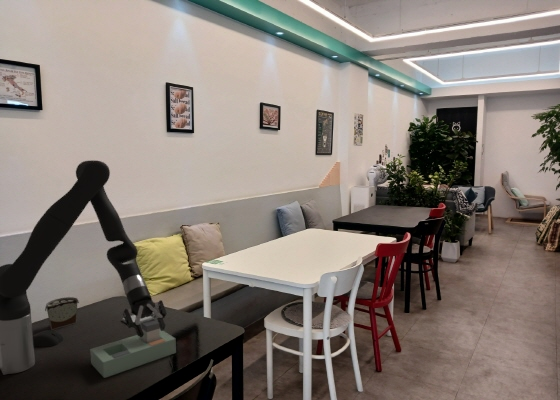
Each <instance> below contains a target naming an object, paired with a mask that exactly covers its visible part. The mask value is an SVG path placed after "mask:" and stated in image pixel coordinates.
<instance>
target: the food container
mask: <svg viewBox="0 0 560 400" xmlns="http://www.w3.org/2000/svg"><path fill="white" fill-rule="evenodd" d="M78 304H80V301H79V299H78V298H77V297H73V296H72V297H70V296H68V297H60V298H55V299H53V300H50V301H48V302H47V303H46V305H45V308H44V311H45V312H47V316H48V322H49V326H50V330H52V331H54V330H57V329H59V328H64V327H68V326H71V325H75V324H77V321H78V320H77V319H78Z"/></svg>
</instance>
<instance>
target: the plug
mask: <svg viewBox="0 0 560 400" xmlns="http://www.w3.org/2000/svg"><path fill="white" fill-rule="evenodd" d="M140 325H141V328H142V331H143V333H144V335H143V337H142V341H143V342H145V343H146V344H148V343H150V342H154V341H157V340H160V330H159V328H160V327H159V322H158V321H157V320H156V319H152V320H149V321H145V322H142V323H140Z"/></svg>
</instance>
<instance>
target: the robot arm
mask: <svg viewBox="0 0 560 400" xmlns="http://www.w3.org/2000/svg"><path fill="white" fill-rule="evenodd" d="M110 170H111V169H110V168H109V165H107V164H106V162H104V161H102V160H101V161H100V160H95V159H94V160H91V159H90V160H84V161H81V162H80V163H79V164H78V165H77V167H76V170H75V176H76V178H77V180H76V181H75V183H74V184H73V186H72V187H71V188H70V189H69V190H68V191H67V192H66V193H65V194H64V195H63V196H61V197H60V198H59V199H57V201H55V202H54V203H53V204H52V205H50V206H49V207H48V209H46V211H45V212H44V213H43V215H42V216H41V217H40V219H39V220H38V221H37V222H36V224H35V225H34V228H33V229H32V231H31V234H30V235H29V237H28V240H27V243H26V244H25V245H26V246H25V247H24V249H23V250H22V252H21V253H20V254H19V255H18V257H17V258H16V259H15V260H14V262H13V263H7V264H3V265H0V371H1V373H2V375H4V376H5V375H9V374H10V375H12V374H18V373H21V372H24V371H27V370H29V369H31V368H32V367H33V366H35V364H36V359H35V346H34V345H33V336H34V335H33V334H34V333H33V324H32V323H33V322H32V312H31V310H32V308H31V304H30V301H29V297H28V295H27V290H28V289H30V286H31V285H32V284H33V283H34V280H35V278H36V276H37V275H38V273H39V272H40V269H41V268H42V266H43V265H44V264H45V262H46V261H47V259H48V258H49V257H50V256H51V255H52V253H53V252H54V251H55V250H56V248H57V247H58V245H59V244H60V243H61V241H62V240H63V239H64V238H65V237H66V235H67V234H68V233H69V231H70V230H71V228H72V227H73V225H74V224H75V223H76V221H77V219H79V217H80V216H81V214H82V212H83V211H85V208H86V207H87V206H88V204H89V203H90V204H91V206H92V207H93V210H94V212H95V215H96V217H97V220H98V222H99V224H100V227H101V230H102V233H103V235H104V238H105V240H106V242H109V243H110V242H122V243H120V244H117V245H115V246H113V247H110V248H108V250H107V252H106V258H107V260H108V262H109V263H110V264H111V265H112V267H113V268H114V270H115V271H117V274H118V276H119V277H120V278H119V279H120V280H121V284H122V286H123V291H124V295H125V296H126V299H127V302H128V304H129V307H130V308H129V309H128V308H125V309H124V310H123V313H122V317H123V318H124V319H125V321H126V323H125V324H126V325H127V327H128V328H129V329H131V328H133V329H134V330H135V332H136V335H138V336H140V338H141V337H143V335H144V333H143V331H142V327H141V324H139V322H140V318H141V319H142V318H145V317H149V316H151V317H152V318H155V319H154V320H155V321H157V322H159V328H160V330H161V331H165V328H166V324H165V321H164V319H165V317H166V316H167V310H166V308H165V305H164V301H163V300H161V299H160V300H159V301H157V302H155V301H153V300H152V295H151V293H150V290H149V288H148V285H147V284H146V281H145V279H144V277H143V276H142V272H141V270H140V268H139V265H138V264H136V263H133V262H132V263H131V262H130V261H132V260H135V259H136V258H137V256H138V253H139V251H138V249H137V247H136V246H135V244H134V243H133V241H132V240H131V239H130V237H129V235H128V234H127V233H126V230H125V228H124V225H123V222H122V220H121V217H120V215H119V213H118V211H117V210H116V208H115V206H114V205H113V204H112V202H111V200H110V199H109V197H108V194H107V192H106V189H105V188H104V187H105V186H106V184H107V182H108V181H109V179H110V176H111V175H110V174H111V171H110ZM128 262H130V263H128ZM155 307H156V308H155ZM157 309H158V310H157ZM153 313H154V314H153ZM131 314H132V315H136V318H135V322H133V321H132V318H131V316H132V315H131Z"/></svg>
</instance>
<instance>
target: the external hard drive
mask: <svg viewBox="0 0 560 400" xmlns="http://www.w3.org/2000/svg"><path fill="white" fill-rule="evenodd" d="M153 314H154V313H153ZM130 316H131V318H132V321H133V322H135V318H136V315H134V314H132V315H130ZM153 319H154V320H156V319H155V318H152V317H151V316H149V317H145V318H142V319H141V318H140V322H139V325H141V323H142V322H145V321H149V320H153ZM121 321H122V322H124V323H125V324H127V323H126V321H125V319H124V317H123V318H122V319H121Z"/></svg>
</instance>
